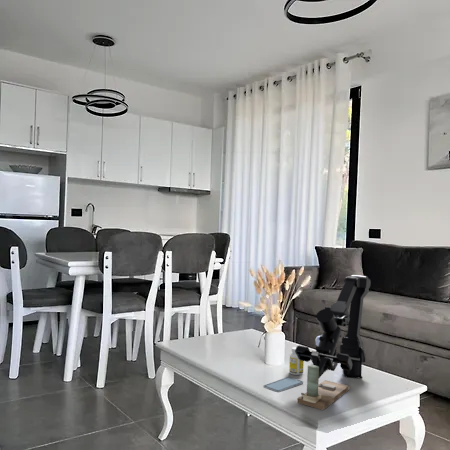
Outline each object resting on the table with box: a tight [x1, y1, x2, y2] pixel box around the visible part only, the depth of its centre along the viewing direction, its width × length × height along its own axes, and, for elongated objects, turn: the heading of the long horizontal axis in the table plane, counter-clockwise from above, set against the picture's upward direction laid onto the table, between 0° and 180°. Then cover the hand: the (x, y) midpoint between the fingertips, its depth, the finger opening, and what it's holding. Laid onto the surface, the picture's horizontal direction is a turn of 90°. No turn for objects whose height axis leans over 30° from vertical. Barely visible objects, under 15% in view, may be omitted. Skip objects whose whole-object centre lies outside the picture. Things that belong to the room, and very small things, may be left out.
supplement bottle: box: [288, 346, 304, 376], centre depth 181 cm, size 5×5×10 cm
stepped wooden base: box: [296, 380, 350, 411], centre depth 156 cm, size 24×9×2 cm, turn 146°
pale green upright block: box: [300, 364, 321, 403], centre depth 149 cm, size 5×6×10 cm
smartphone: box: [263, 376, 304, 393], centre depth 166 cm, size 7×1×15 cm
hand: (315, 379), depth 150 cm, fingers closed, pressing on pale green upright block
